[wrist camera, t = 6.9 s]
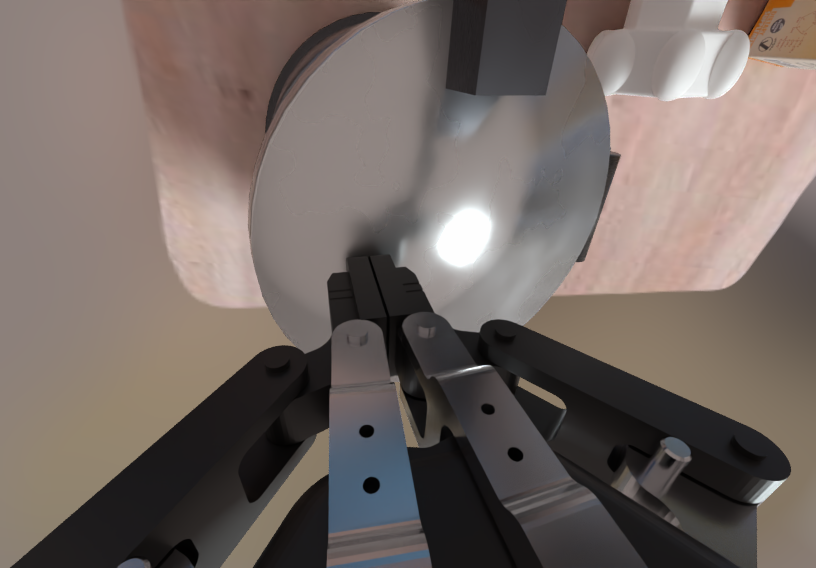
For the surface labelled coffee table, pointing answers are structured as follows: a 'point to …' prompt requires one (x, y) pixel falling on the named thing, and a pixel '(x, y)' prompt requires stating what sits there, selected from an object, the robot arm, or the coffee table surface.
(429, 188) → the cooker lid
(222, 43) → the coffee table surface
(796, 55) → the supplement box
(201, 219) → the coffee table surface
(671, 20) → the white bone
